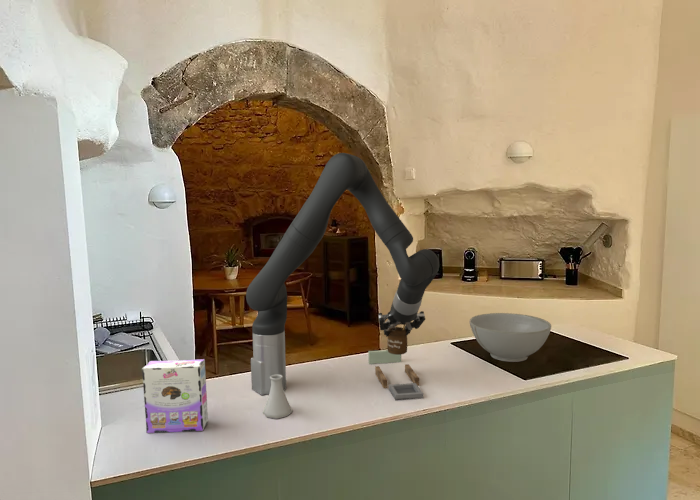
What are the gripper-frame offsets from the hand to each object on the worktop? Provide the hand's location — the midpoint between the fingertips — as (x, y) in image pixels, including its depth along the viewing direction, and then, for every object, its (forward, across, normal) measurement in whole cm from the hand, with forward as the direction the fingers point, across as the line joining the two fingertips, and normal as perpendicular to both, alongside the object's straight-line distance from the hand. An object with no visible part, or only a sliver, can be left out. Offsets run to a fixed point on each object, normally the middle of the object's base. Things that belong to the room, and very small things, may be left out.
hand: (396, 333), depth 153 cm
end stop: (+22, 0, -1) cm, 22 cm away
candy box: (-4, +60, +26) cm, 66 cm away
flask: (-1, +36, +23) cm, 42 cm away
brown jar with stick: (+3, 0, +5) cm, 6 cm away
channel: (+11, 0, +10) cm, 15 cm away
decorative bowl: (+21, -44, 0) cm, 49 cm away
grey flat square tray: (+3, 0, +18) cm, 18 cm away
